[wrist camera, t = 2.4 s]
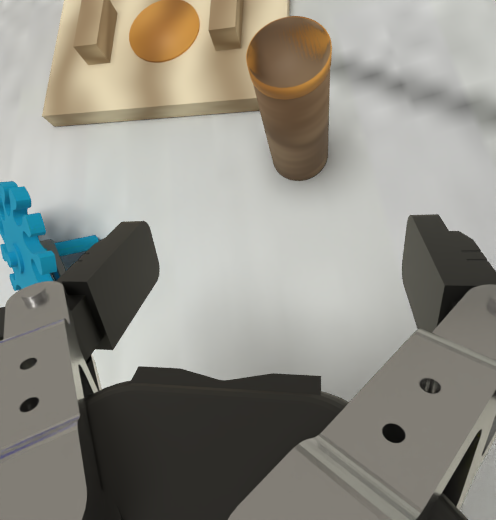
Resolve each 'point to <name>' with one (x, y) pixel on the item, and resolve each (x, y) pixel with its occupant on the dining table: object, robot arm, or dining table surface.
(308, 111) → the pin
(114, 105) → the plate
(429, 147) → the dining table surface
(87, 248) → the gear
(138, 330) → the dining table surface
